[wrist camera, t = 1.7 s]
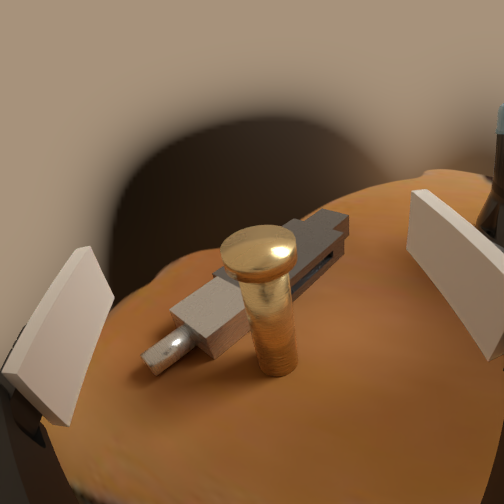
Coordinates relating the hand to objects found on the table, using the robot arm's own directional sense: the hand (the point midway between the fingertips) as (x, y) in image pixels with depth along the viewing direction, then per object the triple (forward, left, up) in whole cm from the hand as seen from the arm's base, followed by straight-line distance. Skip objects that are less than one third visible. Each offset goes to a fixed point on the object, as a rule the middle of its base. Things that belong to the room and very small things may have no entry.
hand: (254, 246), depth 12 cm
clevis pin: (-6, -7, -20) cm, 22 cm away
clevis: (-14, -16, -20) cm, 29 cm away
